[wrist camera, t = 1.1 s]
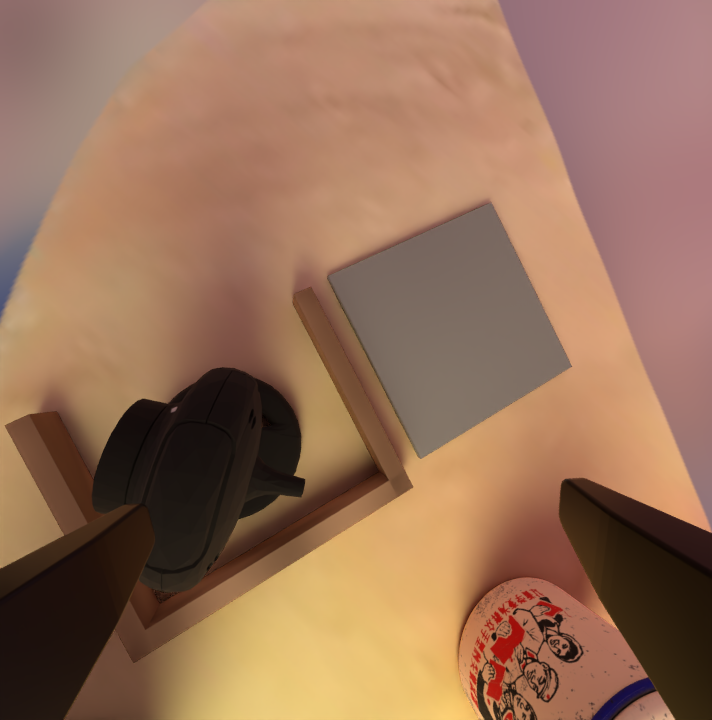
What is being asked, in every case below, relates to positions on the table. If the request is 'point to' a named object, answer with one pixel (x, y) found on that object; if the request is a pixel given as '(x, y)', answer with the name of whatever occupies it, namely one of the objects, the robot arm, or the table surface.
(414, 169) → the table surface
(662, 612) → the robot arm
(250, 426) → the webcam
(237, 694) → the table surface
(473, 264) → the mat
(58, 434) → the holder
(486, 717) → the teacup with lid
